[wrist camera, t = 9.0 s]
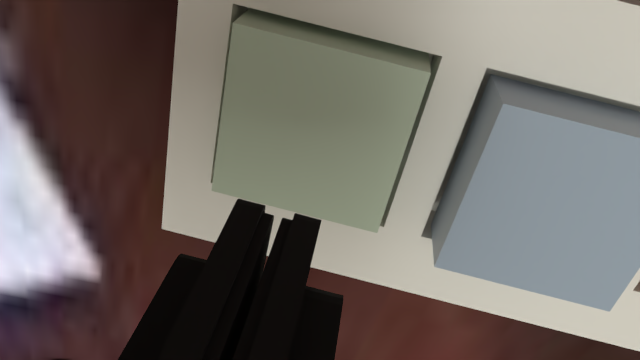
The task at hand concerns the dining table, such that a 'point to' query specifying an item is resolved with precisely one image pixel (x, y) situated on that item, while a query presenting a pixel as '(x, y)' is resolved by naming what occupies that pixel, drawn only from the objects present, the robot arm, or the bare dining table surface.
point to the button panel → (415, 130)
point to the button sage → (316, 118)
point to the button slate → (544, 195)
